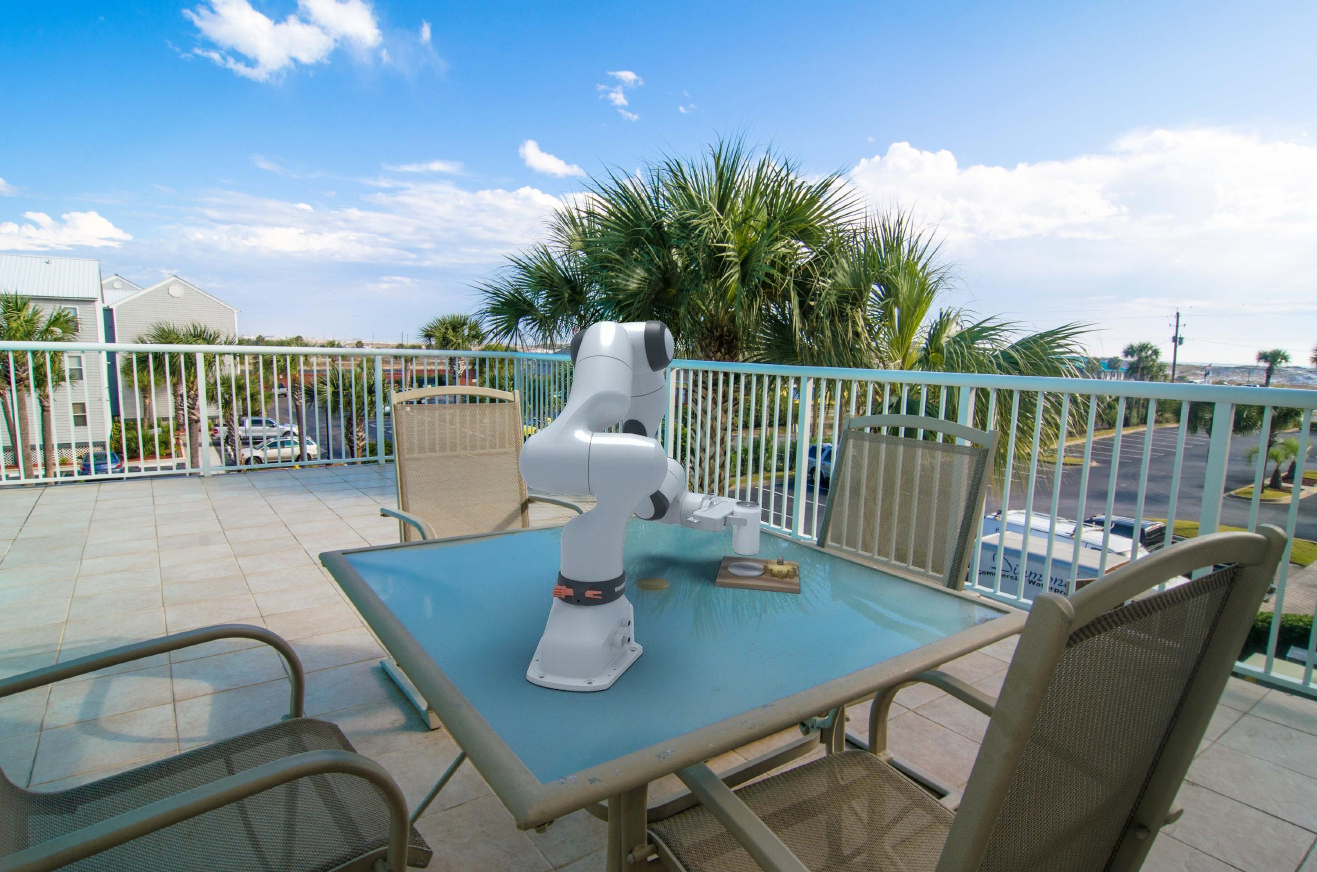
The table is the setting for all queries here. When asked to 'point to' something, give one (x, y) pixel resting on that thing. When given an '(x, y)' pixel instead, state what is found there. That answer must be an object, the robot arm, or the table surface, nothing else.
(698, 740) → the table surface
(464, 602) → the table surface
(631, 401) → the robot arm
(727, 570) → the board
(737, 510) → the can
